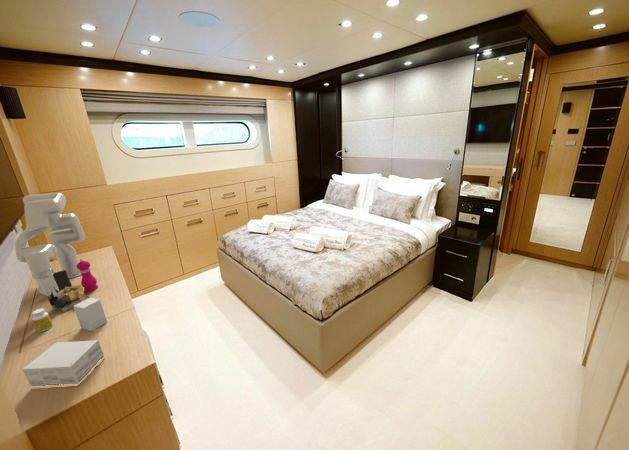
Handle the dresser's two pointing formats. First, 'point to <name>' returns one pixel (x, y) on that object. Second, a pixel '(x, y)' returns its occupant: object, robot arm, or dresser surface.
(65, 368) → the supplement box
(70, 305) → the flange base
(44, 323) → the supplement bottle
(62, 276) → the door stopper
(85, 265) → the pepper mill
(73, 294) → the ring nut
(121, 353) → the dresser surface
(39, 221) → the robot arm
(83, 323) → the supplement box
